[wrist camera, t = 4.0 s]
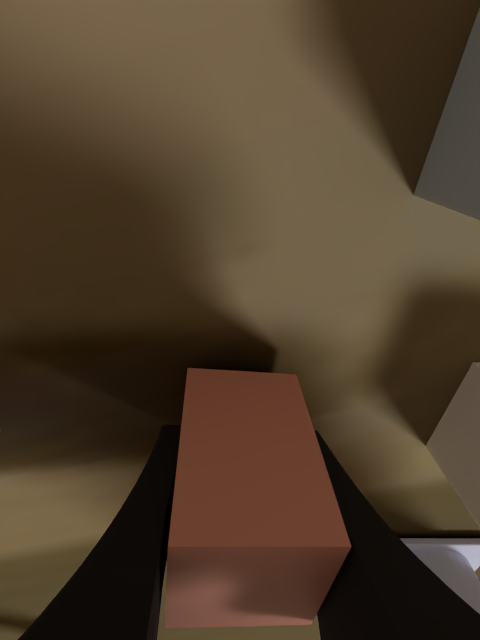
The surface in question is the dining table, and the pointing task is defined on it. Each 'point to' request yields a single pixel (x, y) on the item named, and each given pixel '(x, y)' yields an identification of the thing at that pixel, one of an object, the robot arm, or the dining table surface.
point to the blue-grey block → (457, 140)
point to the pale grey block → (461, 442)
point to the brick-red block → (250, 506)
